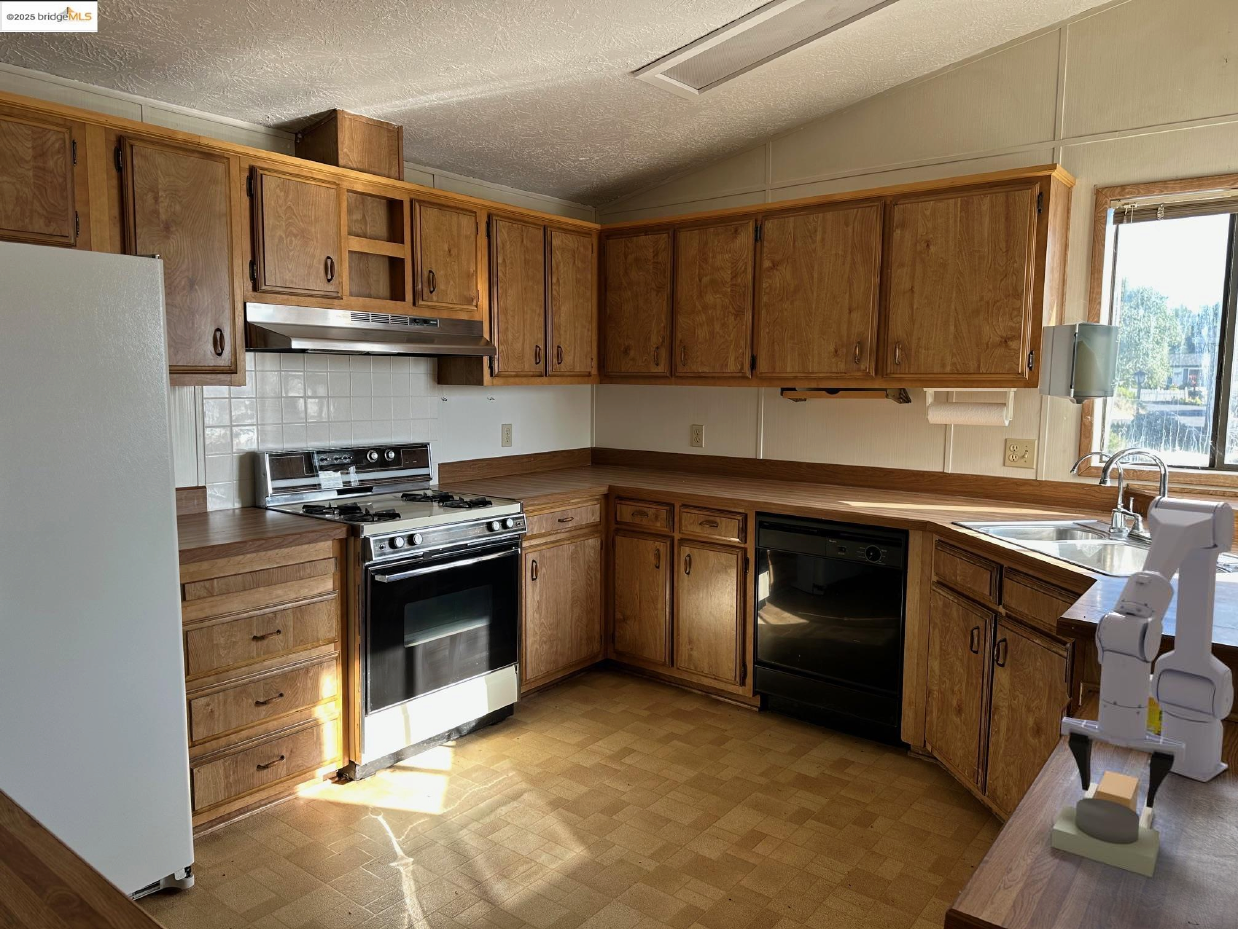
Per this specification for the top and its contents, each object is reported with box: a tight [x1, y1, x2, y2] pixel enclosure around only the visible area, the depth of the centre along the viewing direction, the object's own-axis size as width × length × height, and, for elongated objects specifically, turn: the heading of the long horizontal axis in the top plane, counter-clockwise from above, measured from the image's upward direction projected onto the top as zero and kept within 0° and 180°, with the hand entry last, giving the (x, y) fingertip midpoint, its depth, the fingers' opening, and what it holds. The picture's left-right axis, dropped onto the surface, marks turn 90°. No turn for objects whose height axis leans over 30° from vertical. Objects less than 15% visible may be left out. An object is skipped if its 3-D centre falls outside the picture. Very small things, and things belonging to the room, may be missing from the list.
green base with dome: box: [1051, 781, 1161, 878], centre depth 112 cm, size 20×11×5 cm, turn 142°
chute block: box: [1096, 770, 1140, 813], centre depth 116 cm, size 8×4×5 cm, turn 142°
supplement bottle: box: [1146, 674, 1163, 736], centre depth 145 cm, size 6×6×10 cm
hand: (1117, 796), depth 115 cm, fingers open, 7 cm apart
